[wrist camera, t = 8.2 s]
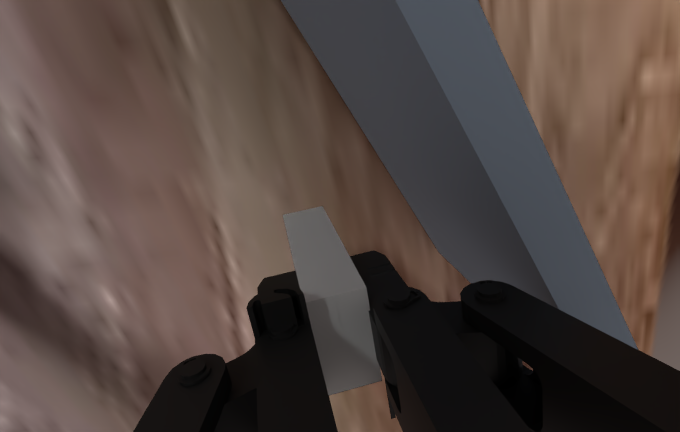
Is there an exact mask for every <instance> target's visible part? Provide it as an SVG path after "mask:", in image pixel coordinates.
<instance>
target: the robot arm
mask: <svg viewBox="0 0 680 432" xmlns="http://www.w3.org/2000/svg"><path fill="white" fill-rule="evenodd" d="M283 218H284V223H285V227H286V232H287V236H288V240H289V245H290V249H291V254H292V258H293V262H294V267H295V271H292V272H288V273H284V274H280V275H275V276H271V277H267V278H264V279H263V280H262V282H261V283H260V285H259V286H258V295H256V296H254V297H253V298H252V299H251V300H250V301H249V303H248V306H247V311H248V315H249V319H250V322H251V326H252V329H253V333H254V337H255V345H254V346H253V347H252V348H251V349H250V350H249V351H247V352H246V353H245V354H243V355H242V356H240V357H238V358H236V359H234V360H232V361H230V362H228V363H225V361H224V360H223V358H222V357H220V356H218V355H216V354H203V355H198V356H194V357H191V358H189V359H187V360H185V361H183V362H181V363H180V364H178V365H177V366H176V367H174V368H173V369H172V370H171V371H170V372H169V373H168V375H167V376H166V377H165V379H164V380H163V382H162V384H161V385H160V387H159V389H158V391H157V392H156V394H155V396H154V397H153V399H152V401H151V402H150V404H149V406H148V408H147V409H146V411H145V413H144V414H143V416H142V418H141V419H140V421H139V423H138V425H137V426H136V428H135V430H134V431H133V432H338V431H337V427H336V423H335V419H334V415H333V411H332V407H331V403H330V399H329V395H332V394H336V393H339V392H343V391H347V390H350V389H354V388H357V387H361V386H364V385H368V384H372V383H375V382H379V381H382V378H381V372H380V368H381V370H382V373H383V375H384V377H385V383H386V389H387V396H388V402H389V408H390V414H391V419H393V418H396V416H397V419H398V421H399V423H400V426H401V428H402V430H403V432H680V371H678V370H676V369H674V368H672V367H670V366H669V365H667V364H665V363H663V362H661V361H659V360H657V359H655V358H653V357H651V356H649V355H647V354H645V353H643V352H641V351H639V350H637V349H635V348H633V347H631V346H630V345H628V344H626V343H624V342H622V341H620V340H618V339H616V338H614V337H612V336H610V335H608V334H606V333H604V332H602V331H600V330H598V329H596V328H594V327H592V326H590V325H588V324H587V323H585V322H583V321H581V320H579V319H577V318H575V317H573V316H571V315H569V314H567V313H565V312H563V311H561V310H559V309H557V308H555V307H553V306H551V305H549V304H547V303H546V302H544V301H542V300H540V299H538V298H536V297H534V296H532V295H530V294H528V293H526V292H524V291H522V290H520V289H518V288H516V287H514V286H512V285H510V284H507V283H504V282H500V281H493V280H486V281H485V280H483V281H479V282H475V283H472V284H469V285H468V286H466V287H465V288H463V290H462V292H461V293H460V295H461V301H458V302H431V301H430V300H429V299H428V297H427V296H426V295H425V294H424V293H423V292H421V291H420V290H418V289H414V288H411V287H408V286H407V285H406V283H405V282H404V281H403V279H402V278H401V277H400V275H399V274H398V272H397V271H395V268H394V267H393V266H392V264H391V263H390V262H389V260H388V259H387V257H386V256H385V255H383V254H381V253H378V252H376V251H370V252H366V253H362V254H358V255H353V256H349V254H348V252H347V251H346V249H345V247H344V245H343V243H342V241H341V239H340V238H339V236H338V234H337V232H336V230H335V228H334V226H333V225H332V223H331V221H330V219H329V217H328V215H327V214H326V212H325V210H324V208H323V206H320V207H316V208H311V209H307V210H302V211H298V212H293V213H289V214H284V215H283ZM522 360H523V361H524V362H525V363H527V364H528V365H529V366H530V367H532V368H533V371H532V370H530V369H528V368H527V367H525V366H524V365H522ZM395 414H396V416H395Z"/></svg>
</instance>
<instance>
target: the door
mask: <svg viewBox="0 0 680 432" xmlns="http://www.w3.org/2000/svg"><path fill="white" fill-rule="evenodd" d="M281 2H282V3H283V5H284V6H285V8H286V10H287V11H288V13H289V14H290V16H291V18H292V19H293V21H294V22H295V24H296V25H297V27H298V29H299V30H300V32H301V33H302V35H303V37H304V38H305V40H306V41H307V43H308V45H309V46H310V48H311V49H312V51H313V53H314V54H315V56H316V57H317V59H318V61H319V62H320V64H321V65H322V67H323V68H324V70H325V72H326V73H327V75H328V76H329V78H330V80H331V81H332V83H333V84H334V86H335V88H336V89H337V91H338V92H339V94H340V96H341V97H342V99H343V100H344V102H345V104H346V105H347V107H348V108H349V110H350V111H351V113H352V115H353V116H354V118H355V119H356V121H357V123H358V124H359V126H360V127H361V129H362V131H363V132H364V134H365V135H366V137H367V139H368V140H369V142H370V143H371V145H372V147H373V148H374V150H375V151H376V153H377V154H378V156H379V158H380V159H381V161H382V162H383V164H384V166H385V167H386V169H387V170H388V172H389V174H390V175H391V177H392V178H393V180H394V182H395V183H396V185H397V186H398V188H399V190H400V191H401V193H402V194H403V196H404V198H405V199H406V201H407V202H408V204H409V205H410V207H411V209H412V210H413V212H414V213H415V215H416V217H417V218H418V220H419V221H420V223H421V225H422V226H423V228H424V229H425V231H426V233H427V234H428V236H429V237H430V239H431V241H432V242H433V244H434V245H435V247H436V248H437V250H438V252H439V253H440V254H441V255H442V256H443V257H444V258H445V259H446V260H447V261H448V262H449V263H450V264H452V265H453V266H454V267H455V268H456V269H457V270H458V271H459V272H460V273H461V274H462V275H463V276H464V277H465V278H466V279H467V280H468V281H469V282H470V283H471V284H472V283H475V282H479V281H483V280H485V281H486V280H493V281H500V282H504V283H507V284H510V285H512V286H514V287H516V288H518V289H520V290H522V291H524V292H526V293H528V294H530V295H532V296H534V297H536V298H538V299H540V300H542V301H544V302H546V303H547V304H549V305H551V306H553V307H555V308H557V309H559V310H561V311H563V312H565V313H567V314H569V315H571V316H573V317H575V318H577V319H579V320H581V321H583V322H585V323H587V324H588V325H590V326H592V327H594V328H596V329H598V330H600V331H602V332H604V333H606V334H608V335H610V336H612V337H614V338H616V339H618V340H620V341H622V342H624V343H626V344H628V345H630V346H631V347H633V348H635V349H637V350H638V348H637V346H636V344H635V342H634V339H633V337H632V335H631V333H630V331H629V329H628V326H627V324H626V322H625V320H624V318H623V315H622V313H621V311H620V309H619V307H618V305H617V302H616V300H615V298H614V296H613V294H612V292H611V289H610V287H609V285H608V283H607V281H606V278H605V276H604V274H603V272H602V270H601V268H600V265H599V263H598V261H597V259H596V257H595V254H594V252H593V250H592V248H591V246H590V244H589V241H588V239H587V237H586V235H585V233H584V230H583V228H582V226H581V224H580V222H579V220H578V217H577V215H576V213H575V211H574V209H573V206H572V204H571V202H570V200H569V198H568V196H567V193H566V191H565V189H564V187H563V185H562V183H561V180H560V178H559V176H558V174H557V172H556V169H555V167H554V165H553V163H552V161H551V159H550V156H549V154H548V152H547V150H546V148H545V145H544V143H543V141H542V139H541V137H540V135H539V132H538V130H537V128H536V126H535V124H534V121H533V119H532V117H531V115H530V113H529V111H528V108H527V106H526V104H525V102H524V100H523V97H522V95H521V93H520V91H519V89H518V87H517V84H516V82H515V80H514V78H513V76H512V74H511V71H510V69H509V67H508V65H507V63H506V60H505V58H504V56H503V54H502V52H501V50H500V47H499V45H498V43H497V41H496V39H495V36H494V34H493V32H492V30H491V28H490V26H489V23H488V21H487V19H486V17H485V15H484V12H483V10H482V8H481V6H480V4H479V2H478V0H281Z"/></svg>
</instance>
